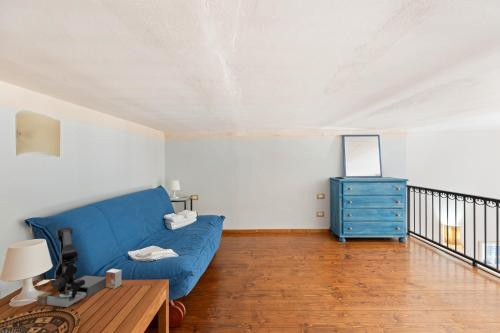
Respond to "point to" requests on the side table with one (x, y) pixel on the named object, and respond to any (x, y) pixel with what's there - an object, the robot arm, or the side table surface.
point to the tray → (65, 299)
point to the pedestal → (43, 298)
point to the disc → (66, 294)
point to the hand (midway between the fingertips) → (67, 297)
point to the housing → (91, 284)
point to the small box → (113, 278)
